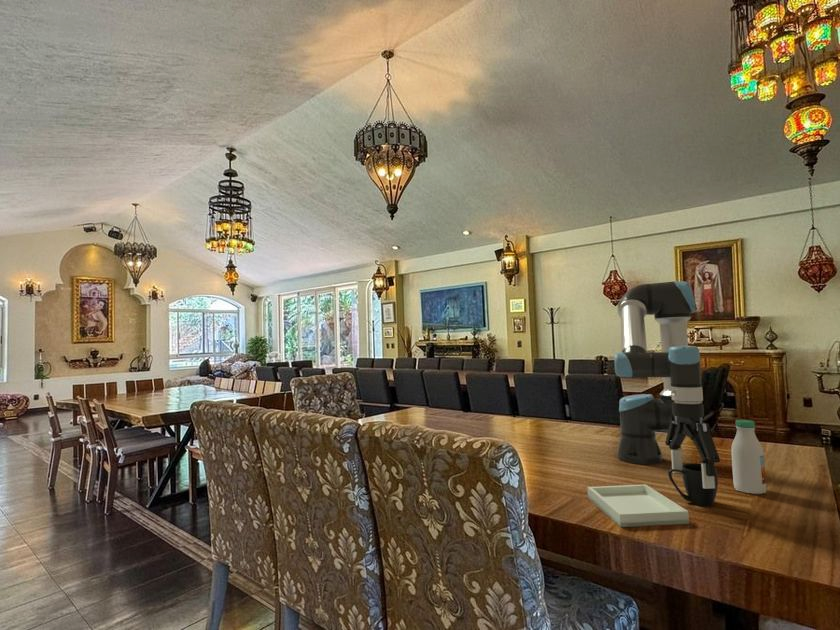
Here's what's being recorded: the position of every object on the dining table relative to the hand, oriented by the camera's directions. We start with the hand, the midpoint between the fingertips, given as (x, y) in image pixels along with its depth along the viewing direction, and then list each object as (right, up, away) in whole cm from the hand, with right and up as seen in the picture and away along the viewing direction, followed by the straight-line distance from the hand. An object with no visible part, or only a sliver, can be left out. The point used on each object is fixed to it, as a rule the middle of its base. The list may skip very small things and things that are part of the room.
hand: (692, 480), depth 122 cm
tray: (-18, -7, -3) cm, 19 cm away
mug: (0, -6, 0) cm, 6 cm away
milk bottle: (+21, -6, +7) cm, 23 cm away
